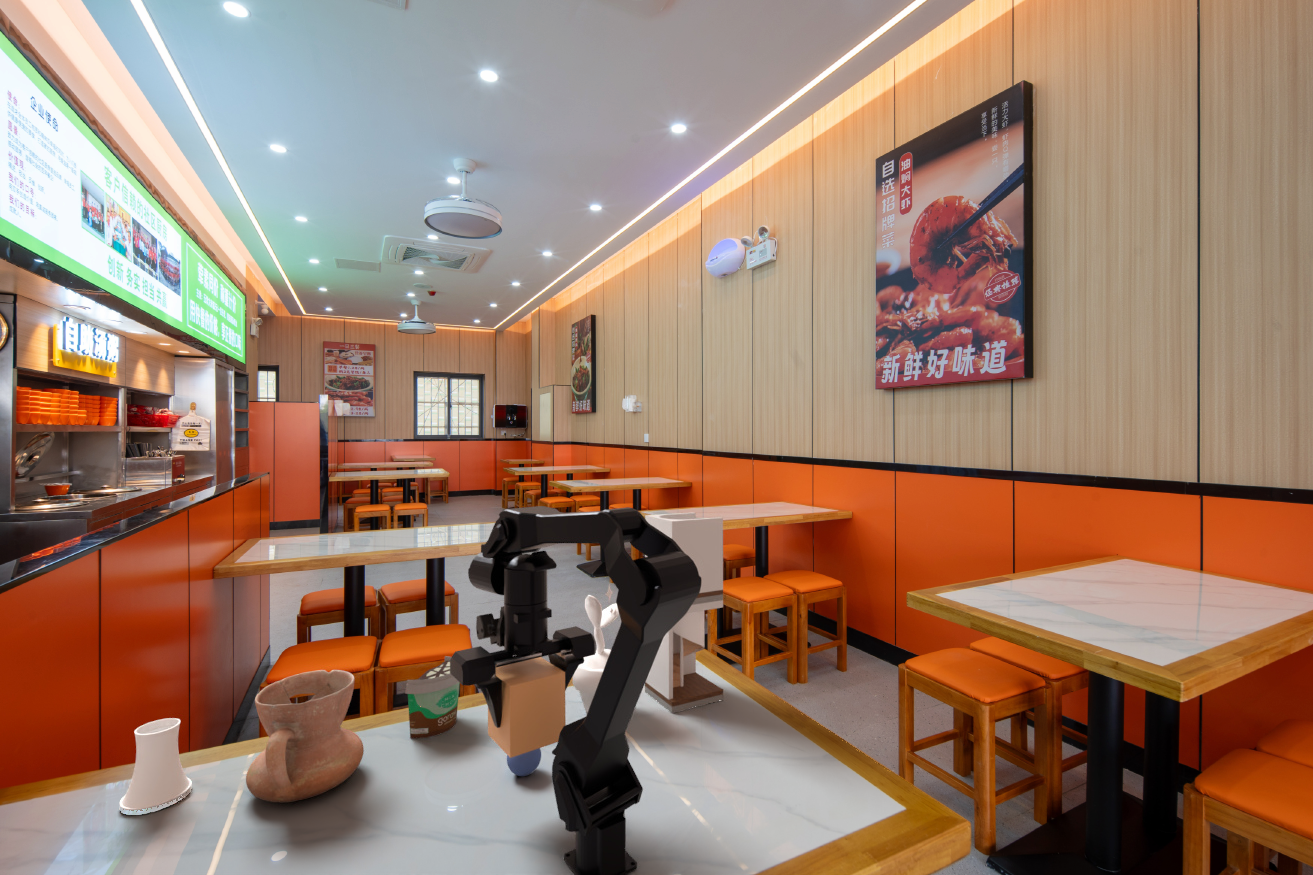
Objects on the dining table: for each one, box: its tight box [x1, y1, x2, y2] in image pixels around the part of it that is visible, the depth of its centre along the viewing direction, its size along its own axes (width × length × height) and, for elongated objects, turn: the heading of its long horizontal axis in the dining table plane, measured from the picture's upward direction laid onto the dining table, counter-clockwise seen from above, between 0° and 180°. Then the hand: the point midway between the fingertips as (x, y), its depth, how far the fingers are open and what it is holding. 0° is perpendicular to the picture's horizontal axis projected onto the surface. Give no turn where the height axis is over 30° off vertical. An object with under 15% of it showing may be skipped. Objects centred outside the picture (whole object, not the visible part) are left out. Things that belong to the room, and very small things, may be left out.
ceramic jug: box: [245, 669, 365, 803], centre depth 83 cm, size 18×14×14 cm
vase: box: [119, 717, 193, 812], centre depth 80 cm, size 8×8×10 cm
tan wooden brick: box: [487, 657, 567, 758], centre depth 78 cm, size 8×8×9 cm
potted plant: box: [572, 582, 620, 714], centre depth 106 cm, size 13×12×25 cm
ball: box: [506, 748, 542, 777], centre depth 86 cm, size 5×5×5 cm
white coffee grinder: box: [644, 512, 724, 714], centre depth 114 cm, size 11×11×35 cm
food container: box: [404, 655, 461, 739], centre depth 101 cm, size 12×6×10 cm, turn 168°
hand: (526, 717), depth 78 cm, fingers closed on tan wooden brick, 8 cm apart
